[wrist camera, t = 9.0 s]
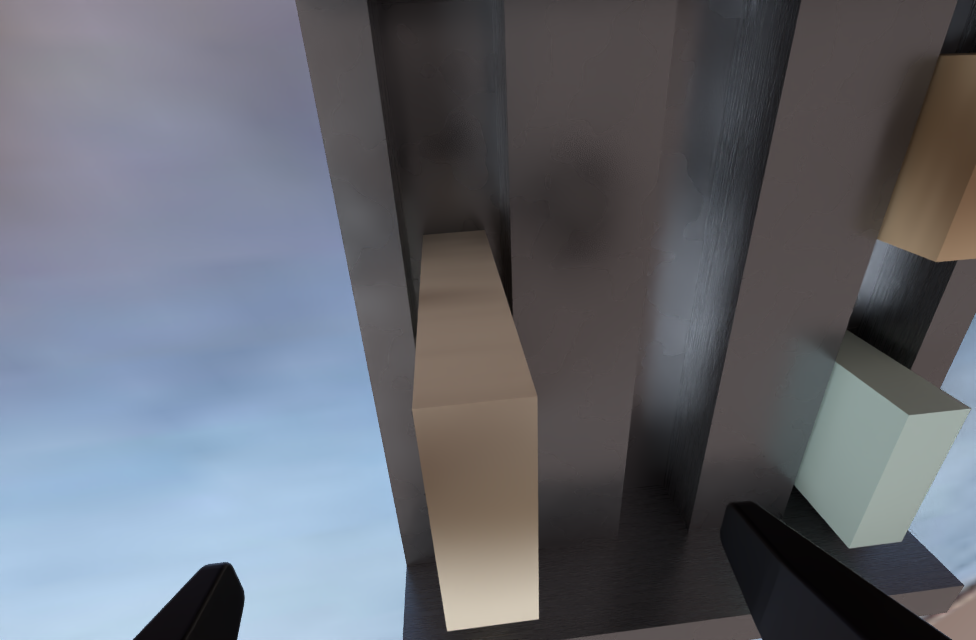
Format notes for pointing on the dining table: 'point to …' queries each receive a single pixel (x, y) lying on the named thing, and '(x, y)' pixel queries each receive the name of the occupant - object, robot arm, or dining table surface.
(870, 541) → the offcut
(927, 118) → the offcut
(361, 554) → the dining table surface
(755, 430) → the rack
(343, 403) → the dining table surface
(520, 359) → the birch panel
